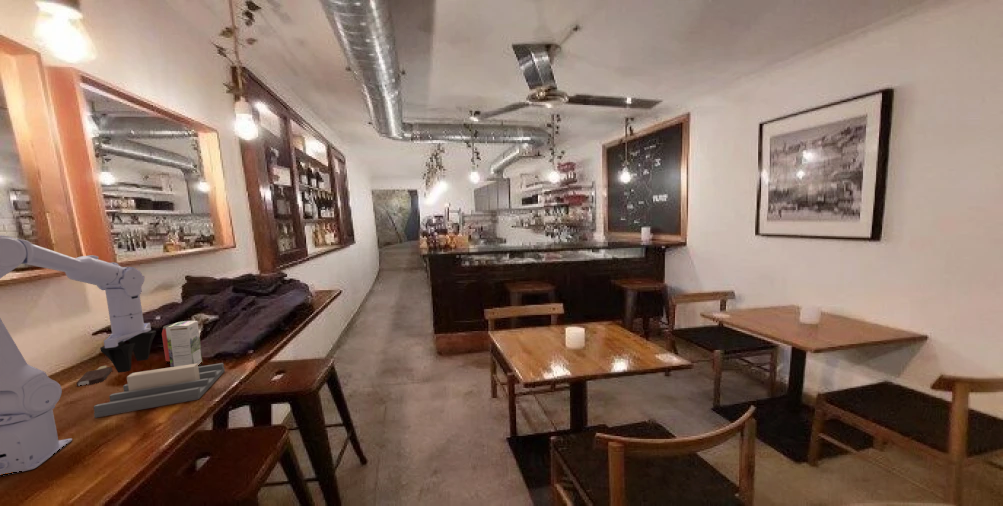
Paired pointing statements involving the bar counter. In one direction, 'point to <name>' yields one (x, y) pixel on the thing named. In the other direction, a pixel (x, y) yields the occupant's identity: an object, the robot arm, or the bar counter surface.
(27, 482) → the bar counter surface
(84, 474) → the bar counter surface
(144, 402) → the drying rack
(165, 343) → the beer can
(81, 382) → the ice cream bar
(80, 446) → the bar counter surface
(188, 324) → the syrup box
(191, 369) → the clay strip
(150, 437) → the bar counter surface
